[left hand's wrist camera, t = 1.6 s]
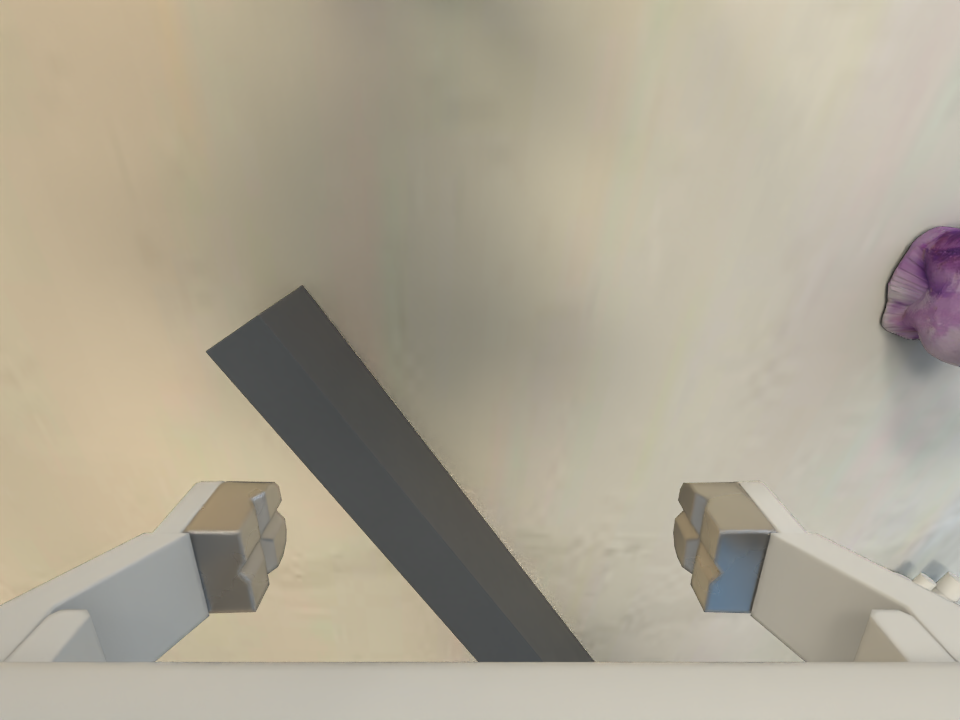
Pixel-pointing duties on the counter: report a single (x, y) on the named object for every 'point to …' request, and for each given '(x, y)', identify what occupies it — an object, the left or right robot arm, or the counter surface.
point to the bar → (390, 482)
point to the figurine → (928, 294)
